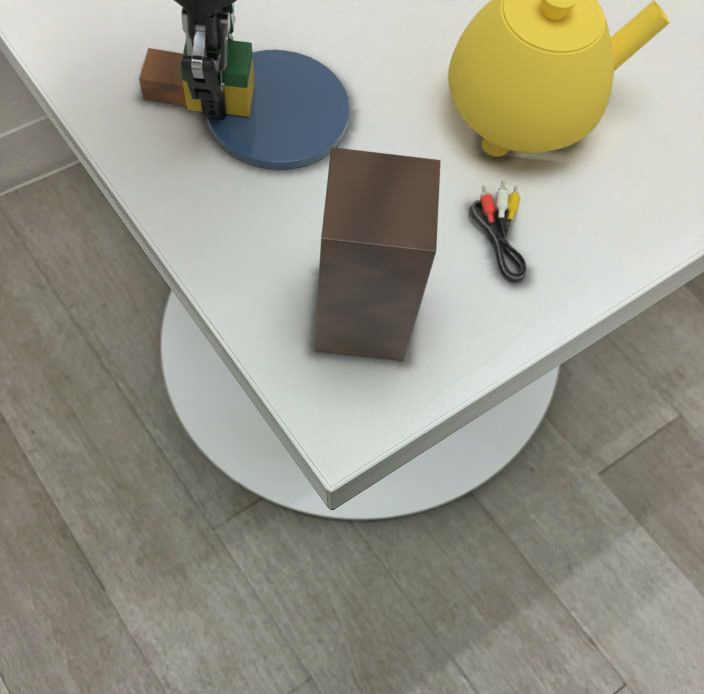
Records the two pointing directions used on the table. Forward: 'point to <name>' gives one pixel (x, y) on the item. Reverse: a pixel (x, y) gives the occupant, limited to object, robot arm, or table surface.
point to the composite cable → (500, 226)
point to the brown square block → (162, 77)
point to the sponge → (231, 80)
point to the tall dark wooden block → (375, 251)
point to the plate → (287, 113)
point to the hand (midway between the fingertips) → (218, 97)
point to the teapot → (541, 70)
